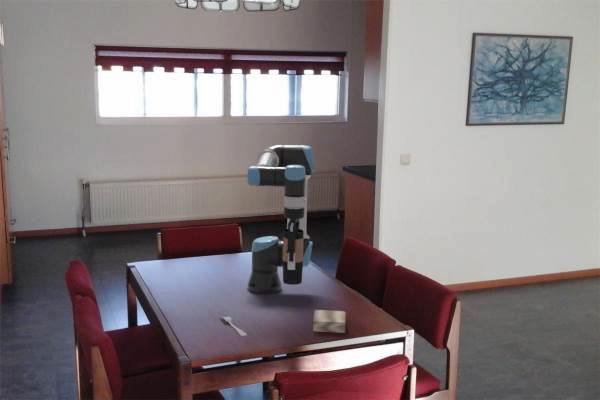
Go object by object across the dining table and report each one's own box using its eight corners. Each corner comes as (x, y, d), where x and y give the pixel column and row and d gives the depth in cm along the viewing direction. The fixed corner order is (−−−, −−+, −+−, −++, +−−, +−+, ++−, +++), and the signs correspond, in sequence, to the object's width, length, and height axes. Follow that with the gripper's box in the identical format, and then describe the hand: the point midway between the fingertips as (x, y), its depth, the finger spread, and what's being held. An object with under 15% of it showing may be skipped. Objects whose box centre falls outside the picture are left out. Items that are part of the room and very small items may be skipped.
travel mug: (282, 278, 244) (283, 228, 241) (302, 279, 244) (303, 228, 241) (282, 284, 237) (283, 232, 233) (302, 285, 237) (304, 233, 233)
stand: (313, 331, 237) (313, 321, 237) (314, 319, 249) (314, 309, 248) (345, 332, 237) (345, 322, 236) (345, 321, 248) (345, 311, 248)
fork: (241, 343, 231) (241, 336, 231) (217, 318, 248) (218, 312, 247) (247, 341, 233) (248, 335, 232) (224, 317, 250) (224, 311, 249)
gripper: (301, 213, 225) (299, 274, 229) (307, 202, 245) (305, 259, 249) (280, 212, 226) (278, 273, 230) (288, 201, 246) (286, 258, 250)
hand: (292, 266), depth 239 cm, fingers closed on travel mug, 8 cm apart
